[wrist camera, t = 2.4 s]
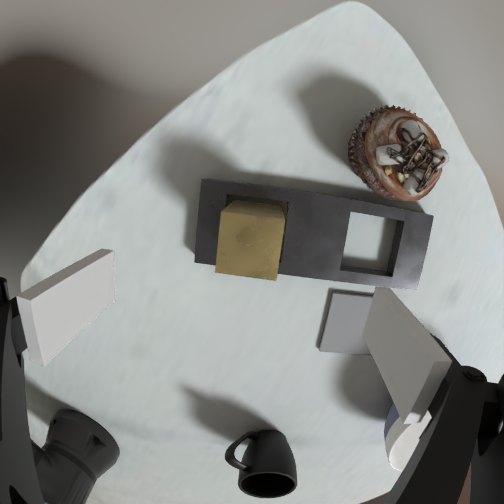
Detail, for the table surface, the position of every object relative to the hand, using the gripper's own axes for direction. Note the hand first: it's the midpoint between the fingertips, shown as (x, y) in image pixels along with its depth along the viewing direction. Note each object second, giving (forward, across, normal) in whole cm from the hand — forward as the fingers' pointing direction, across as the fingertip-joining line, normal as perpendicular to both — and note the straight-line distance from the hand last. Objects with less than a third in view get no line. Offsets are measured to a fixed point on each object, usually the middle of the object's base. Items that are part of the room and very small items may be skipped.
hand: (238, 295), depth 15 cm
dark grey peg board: (+20, +7, 0) cm, 21 cm away
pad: (+20, +14, -11) cm, 27 cm away
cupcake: (+21, +13, +10) cm, 26 cm away
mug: (+20, +5, -32) cm, 38 cm away
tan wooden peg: (+20, 0, 0) cm, 20 cm away
